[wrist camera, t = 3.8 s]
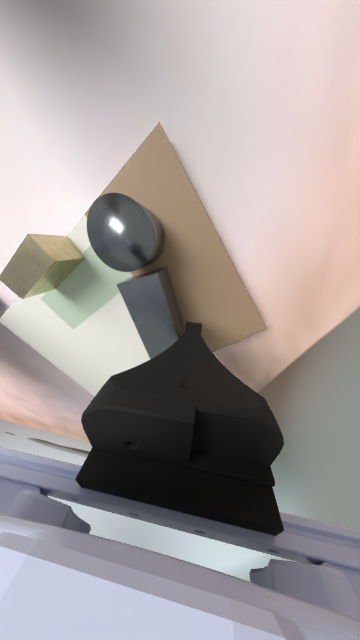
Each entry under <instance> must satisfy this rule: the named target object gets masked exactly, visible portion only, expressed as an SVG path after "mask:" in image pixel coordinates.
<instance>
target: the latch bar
mask: <svg viewBox="0 0 360 640" xmlns="http://www.w3.org/2000/svg"><path fill="white" fill-rule="evenodd" d="M87 234H88V238H89V241H90V244H91V246H92V248H93V250H94V252H95V253H96V255H97V256H98V257H99V259H100V260H101V261H102V262H103V263H105V264H106V265H107V266H109V267H110V268H112V269H114V270H117V271H121V272H132V271H135V270H138V269H140V268H143V267H145V266H147V265H150V264H152V263H154V262H155V261H156V260H157V259H158V258H159V257H160V255H161V253H162V251H163V247H164V232H163V228H162V226H161V223H160V222H159V220H158V218H157V217H156V216H155V215H154V214H153V213H152V212H151V211H150V210H148V209H147V208H145V207H144V206H142V205H141V204H139V203H138V202H136V201H135V200H133V199H132V198H130V197H128V196H127V195H124V194H121V193H107V194H104V195H102V196H100V197H99V198H97V199H96V200H95V201H94V203H93V204H92V206H91V207H90V210H89V212H88V216H87ZM117 287H118V289H119V291H120V293H121V295H122V298H123V300H124V302H125V304H126V307H127V309H128V311H129V313H130V315H131V318H132V320H133V322H134V324H135V327H136V329H137V331H138V333H139V335H140V338H141V340H142V342H143V344H144V346H145V349H146V351H147V353H148V355H149V358H150V359H152V358H154V357H156V356H157V355H159V354H160V353H162V352H163V351H165V350H166V349H168V348H169V347H170V346H171V345H172V344H174V343H175V342H176V341H177V340H178V339H179V338H180V337H181V336H182V335H183V334H184V333H185V328H184V324H183V321H182V317H181V314H180V311H179V307H178V304H177V300H176V297H175V293H174V290H173V286H172V283H171V280H170V276H169V273H168V269H167V267H164V268H160V269H157V270H153V271H150V272H146V273H142V274H139V275H135V276H133V277H130V278H128V279H126V280H124V281H122V282H120V283H118V284H117Z"/></svg>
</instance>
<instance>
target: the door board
mask: <svg viewBox="0 0 360 640" xmlns="http://www.w3.org/2000/svg"><path fill="white" fill-rule="evenodd" d="M107 193H121V194H124V195H127V196H128V197H130V198H132V199H133V200H135V201H136V202H138V203H139V204H141V205H142V206H144V207H145V208H147V209H148V210H150V211H151V212H152V213H153V214H154V215H155V216H156V217H157V218H158V220H159V222H160V223H161V226H162V228H163V232H164V247H163V251H162V253H161V255H160V257H159V258H158V259H157V260H156V261H155V262H154V263H152V264H150V265H147V266H145V267H143V268H140V269H138V270H135V271H132V272H121V271H117V270H114V269H112V268H110V267H109V266H107V265H106V264H105V263H103V262H102V261H101V260H100V259H99V257H98V256H97V255H96V253H95V252H94V250H93V248H92V246H91V244H90V241H89V238H88V234H87V216H88V212H89V210H90V208H89V209H88V211H87V212H86V213H85V215H84V216H83V217H82V219H81V220H80V221H79V222H78V223H77V225H76V226H75V227H74V228H73V230H72V231H71V232H70V233H69V235H68V236H67V237H68V238H69V239H70V240H71V241H72V242H73V244H74V245H75V246H76V247H77V248H78V249H79V251H80V252H81V253H82V254H83V255H84V257H85V259H84V260H83V261H82V262H81V263H80V264H79V265H78V266H77V267H76V268H75V269H74V271H73V272H72V273H71V274H70V275H69V276H68V277H67V278H66V279H65V280H64V281H63V282H62V283H61V284H60V285H59V286H58V287H57V288H56V289H54V290H51V291H48V292H45V293H41V294H38V295H35V296H32V297H29V298H25V299H21V298H20V297H19V296H18V297H17V298H16V299H15V301H14V302H13V303H12V304H11V306H10V307H9V308H8V309H7V310H6V312H5V313H4V314H3V315H2V317H1V318H0V323H1V324H3V325H4V326H5V327H7V328H8V329H9V330H10V331H12V332H13V333H14V334H15V335H17V336H18V337H19V338H20V339H22V340H23V341H24V342H26V343H27V344H28V345H29V346H31V347H32V348H33V349H34V350H36V351H37V352H38V353H40V354H41V355H42V356H43V357H45V358H46V359H47V360H48V361H50V362H51V363H52V364H53V365H55V366H56V367H57V368H59V369H60V370H61V371H62V372H64V373H65V374H66V375H67V376H69V377H70V378H71V379H73V380H74V381H75V382H76V383H78V384H79V385H80V386H81V387H83V388H84V389H85V390H86V391H88V392H89V393H90V394H92V395H93V396H94V397H95V396H96V394H97V393H98V392H99V390H100V389H101V388H102V386H103V385H104V384H105V383H106V382H107V380H108V379H109V378H110V377H111V376H112V375H115V374H118V373H121V372H123V371H126V370H128V369H131V368H133V367H136V366H138V365H140V364H142V363H144V362H146V361H148V360H150V358H149V355H148V353H147V351H146V349H145V346H144V344H143V342H142V340H141V338H140V335H139V333H138V331H137V329H136V327H135V324H134V322H133V320H132V318H131V315H130V313H129V311H128V309H127V307H126V304H125V302H124V300H123V298H122V295H121V293H120V291H119V289H118V287H117V284H118V283H120V282H122V281H124V280H126V279H128V278H130V277H133V276H135V275H139V274H142V273H146V272H150V271H153V270H157V269H160V268H164V267H167V269H168V273H169V276H170V280H171V283H172V286H173V290H174V293H175V297H176V300H177V304H178V307H179V311H180V314H181V317H182V321H183V324H184V328H185V325H186V323H187V322H195V323H202V331H201V336H202V338H203V339H204V341H205V343H206V345H207V346H208V348H209V349H210V351H211V352H214V351H216V350H218V349H220V348H223V347H225V346H227V345H230V344H232V343H234V342H236V341H239V340H241V339H243V338H245V337H248V336H250V335H252V334H255V333H257V332H259V331H261V330H264V329H266V326H265V324H264V322H263V320H262V318H261V316H260V314H259V312H258V310H257V309H256V307H255V305H254V303H253V301H252V299H251V297H250V295H249V293H248V291H247V289H246V287H245V285H244V284H243V282H242V280H241V278H240V276H239V274H238V272H237V270H236V268H235V266H234V264H233V262H232V261H231V259H230V257H229V255H228V253H227V251H226V249H225V247H224V245H223V243H222V241H221V239H220V237H219V236H218V234H217V232H216V230H215V228H214V226H213V224H212V222H211V220H210V218H209V216H208V214H207V213H206V211H205V209H204V207H203V205H202V203H201V201H200V199H199V197H198V195H197V193H196V191H195V190H194V188H193V186H192V184H191V182H190V180H189V178H188V176H187V174H186V172H185V170H184V168H183V166H182V165H181V163H180V161H179V159H178V157H177V155H176V153H175V151H174V149H173V147H172V145H171V143H170V142H169V140H168V138H167V136H166V134H165V132H164V130H163V128H162V126H161V124H160V122H159V123H158V125H157V126H156V127H155V128H154V130H153V131H152V132H151V133H150V134H149V136H148V137H147V138H146V139H145V141H144V142H143V143H142V144H141V145H140V147H139V148H138V149H137V150H136V152H135V153H134V154H133V155H132V157H131V158H130V159H129V160H128V161H127V163H126V164H125V165H124V166H123V168H122V169H121V170H120V171H119V172H118V174H117V175H116V176H115V177H114V179H113V180H112V181H111V182H110V184H109V185H108V186H107V187H106V188H105V190H104V191H103V192H102V193H101V195H100V196H102V195H104V194H107ZM100 196H99V197H100ZM99 197H98V198H99Z"/></svg>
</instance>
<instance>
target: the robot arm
mask: <svg viewBox="0 0 360 640" xmlns="http://www.w3.org/2000/svg"><path fill="white" fill-rule="evenodd" d="M201 331H202V323H195V322H187V323H186V325H185V333H184V334H183V335H182V336H181V337H180V338H179V339H178V340H177V341H176V342H175V343H174V344H172V345H171V346H170V347H169V348H168V349H166V350H165V351H163V352H162V353H160V354H159V355H157V356H156V357H154V358H152V359H150V360H148V361H146V362H144V363H142V364H140V365H138V366H136V367H133V368H131V369H128V370H126V371H123V372H121V373H118V374H115V375H112V376H111V377H110V378H109V379H108V380H107V382H106V383H105V384H104V385H103V386H102V388H101V389H100V390H99V392H98V393H97V394H96V396H95V397H94V399H93V400H92V401H91V403H90V404H89V406H88V407H87V408H86V410H85V411H84V412H83V414H82V419H81V421H82V425H83V429H84V431H85V433H86V435H87V437H88V439H89V441H90V443H91V445H92V447H93V448H92V449H91V451H90V453H89V455H88V457H87V459H86V460H85V462H84V464H83V466H79V465H75V464H70V463H66V462H62V461H57V460H54V459H49V458H45V457H40V456H36V455H32V454H28V453H23V452H18V451H15V450H10V449H6V448H1V447H0V640H360V530H356V529H351V528H347V527H342V526H338V525H334V524H330V523H325V522H321V521H317V520H312V519H308V518H304V517H300V516H295V515H291V514H287V513H282V512H279V510H278V506H277V503H276V499H275V495H274V492H273V488H272V487H273V486H274V485H275V481H274V477H273V474H272V471H271V467H270V465H271V464H272V462H273V461H274V460H275V458H276V457H277V456H278V454H279V453H280V451H281V449H282V447H283V445H284V441H283V436H282V433H281V431H280V428H279V426H278V424H277V421H276V419H275V417H274V415H273V413H272V411H271V410H270V407H269V406H268V404H267V402H266V400H265V399H264V398H263V397H262V396H260V395H259V394H258V393H256V392H255V391H253V390H252V389H251V388H249V387H248V386H247V385H245V384H244V383H243V382H241V381H240V380H239V379H238V378H236V377H235V376H234V375H233V374H232V373H231V372H230V371H228V370H227V369H226V368H225V367H224V366H223V365H222V364H221V363H220V362H219V360H218V359H217V358H216V357H215V356H214V354H213V353H212V352H211V351H210V349H209V348H208V346H207V345H206V343H205V341H204V339H203V338H202V336H201ZM47 495H48V496H52V497H55V498H59V499H63V500H67V501H71V502H74V503H78V504H82V505H86V506H89V507H93V508H97V509H101V510H105V511H108V512H112V513H116V514H120V515H124V516H127V517H131V518H135V519H139V520H143V521H146V522H150V523H154V524H157V525H161V526H165V527H169V528H173V529H177V530H181V531H184V532H188V533H192V534H195V535H199V536H203V537H207V538H210V539H214V540H218V541H222V542H225V543H229V544H233V545H237V546H241V547H245V548H248V549H252V550H256V551H259V552H263V553H267V554H271V555H275V556H278V557H282V558H286V559H290V560H293V561H297V562H290V561H283V560H275V559H271V560H270V562H269V564H268V566H266V567H264V568H259V569H251V571H250V580H251V582H249V581H245V580H242V579H240V578H237V577H233V576H230V575H227V574H224V573H221V572H218V571H215V570H212V569H209V568H206V567H203V566H200V565H196V564H193V563H190V562H186V561H183V560H180V559H177V558H174V557H170V556H167V555H163V554H160V553H157V552H153V551H149V550H146V549H143V548H139V547H136V546H132V545H129V544H125V543H121V542H118V541H114V540H110V539H106V538H102V537H98V536H95V535H91V534H89V532H90V530H91V528H90V525H89V524H88V523H86V522H85V521H83V520H82V519H80V518H79V517H78V516H77V515H76V514H75V513H73V510H72V509H71V507H70V506H68V505H66V504H63V503H61V502H58V501H56V500H54V499H51V498H49V497H48V496H47ZM298 562H301V563H298Z"/></svg>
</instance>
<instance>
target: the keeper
mask: <svg viewBox="0 0 360 640" xmlns="http://www.w3.org/2000/svg"><path fill="white" fill-rule="evenodd" d="M84 259H85V257H84V255H83V254H82V253H81V252H80V251H79V249H78V248H77V247H76V246H75V245H74V244H73V242H72V241H71V240H70V239H69V238H68V237H67V236H55V235H39V234H28V235H27V236H26V238H25V239H24V241H23V242H22V244H21V245H20V247H19V248H18V250H17V251H16V253H15V254H14V256H13V257H12V259H11V260H10V262H9V263H8V264H7V266H6V267H5V269H4V270H3V272H2V273H1V275H0V280H1V281H2V282H3V283H4V284H5V285H6V286H8V287H9V288H10V289H11V290H12V291H13V292H14V293H15V294H17V295H18V296H19V297H20V298H21V299H25V298H29V297H32V296H35V295H38V294H41V293H45V292H48V291H51V290H54V289H56V288H57V287H58V286H59V285H60V284H61V283H62V282H63V281H64V280H65V279H66V278H67V277H68V276H69V275H70V274H71V273H72V272H73V271H74V269H75V268H76V267H77V266H78V265H79V264H80V263H81V262H82V261H83V260H84Z"/></svg>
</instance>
